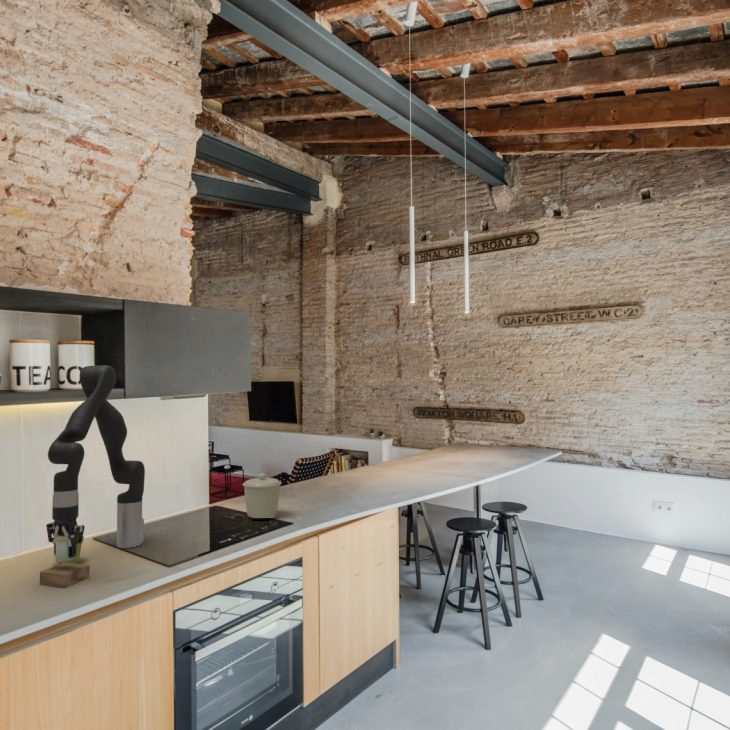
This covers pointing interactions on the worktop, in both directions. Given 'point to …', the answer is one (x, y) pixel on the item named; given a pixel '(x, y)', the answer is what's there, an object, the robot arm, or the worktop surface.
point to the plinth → (64, 574)
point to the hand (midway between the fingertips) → (64, 556)
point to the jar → (62, 549)
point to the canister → (262, 496)
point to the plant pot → (76, 558)
